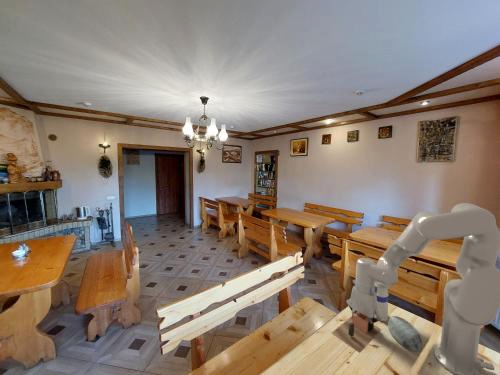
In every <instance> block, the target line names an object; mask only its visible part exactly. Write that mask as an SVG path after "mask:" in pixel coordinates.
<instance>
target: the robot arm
mask: <svg viewBox="0 0 500 375" xmlns="http://www.w3.org/2000/svg"><path fill="white" fill-rule="evenodd" d="M458 238H463V241H462V246H461V247H460V248H461V249H460V252H459V254H458V258H457V259H456V262H455V270H456V272H457V273H458V275H459V276H460V278H461V279H460V278H457V279H456V278H454V279H451V280H449V281H448V282H446V284H445V286H444V289H443V299H444V300H443V317H442V326H441V337H440V346H438V347H436V348H435V349H434V351H433V352H434V358H435V359H436V361H437V362H438V363H439V364H440V365H441V366H442V367H444V368H445V369H446V370H448V371H449V372H450V373H451V374H454V375H483V373H482V370H483V369H487V370H490V371H495V366H494V365H493V363H491V362H487V361H486V362H485V361H484V358H483V357H481V356H478V351H479V345H480V344H479V343H480V335H481V330H482V329H481V328H482V326H486V325H489V324H491V323H492V322H493V321H495V319H496V317H497V315H498V313H499V310H500V269H499V268H497V266H496V263H497V259H498V256H499V252H500V229H499V227H498V225H497V219H496V217H495V215H494V214H493V213H492V212H491V211H489V210H487V209H486V208H483V207H480V206H479V205H476V204H473V203H469V202H461V203H458V204H456V205H454V206H453V207H452V209H451V211H450V212H445V213H439V214H437V213H434V212H432V211H420V212H419V213H417V214H415V216H414V217H412V220H411V221H410V222H409V223H408V225H407V226H406V227H405V229H404V230H403V231H402V233H401V234H400V235H399V236H398V237H397V239H396V240H394V242H392V244H391V245H389V247H388V248H387V249H386V250H385V251H384V252H383V254H382V255H381V256H380V258H379V259H378V261H377V262H375V260H372V259H370V258H367V257H360V258H358V259H357V260H356V267H355V279H352V283H353V284H354V285H353V287H352V289H351V294H350V297H349V298H348V299H347V300H345V302H346V304H347V305H348V307H349V310H350V311H351V313H352V314H351V315H352V316H351V317H352V318H353V314H354V313H356V312H357V311H358V312H359V313H361V314H363V315H365V316H367V317H368V318H369V323H368V331H369V332H370V331H371V330H373V328H374V325H375V323H377V322H382V321H381V320H382V319H383V318H382V316H381V315H380V313H379V312H378V310H377V296H376V293H375V292H374V291H375V282H376V283H377V282H380V283H382V284H385V285H390V286H391V287H392V286H395V285H396V284H397V283H398V281H399V274H398V270H399V268H400V266H401V265H402V264H403V263H404V262H405V261H406V260H407V259H408V258H410V257H414V256H419V255H420V254H421V253H422V252H423V251H424V249H425V248H426V247H427V246H428V245H429V243H430V242H432V240H433V241H434V240H436V241H437V240H438V241H439V240H449V239H458ZM374 315H376V316H377V317H376V318H375V317H374Z"/></svg>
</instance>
